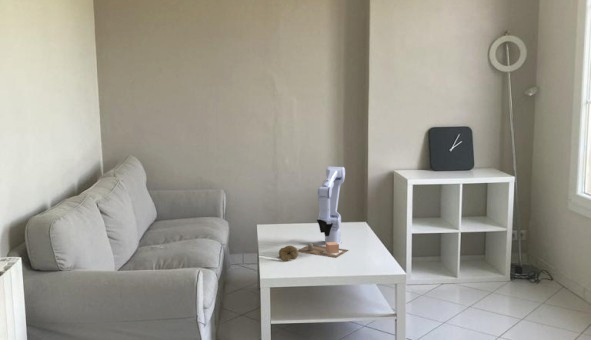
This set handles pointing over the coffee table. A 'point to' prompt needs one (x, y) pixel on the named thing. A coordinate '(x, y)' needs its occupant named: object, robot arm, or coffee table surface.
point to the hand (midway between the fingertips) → (324, 234)
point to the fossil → (288, 253)
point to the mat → (332, 253)
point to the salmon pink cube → (332, 247)
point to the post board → (318, 250)
